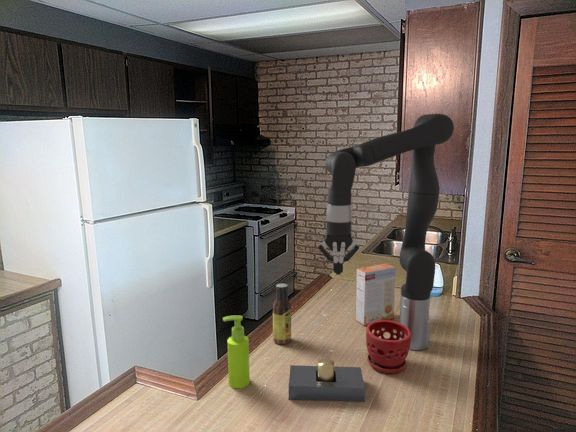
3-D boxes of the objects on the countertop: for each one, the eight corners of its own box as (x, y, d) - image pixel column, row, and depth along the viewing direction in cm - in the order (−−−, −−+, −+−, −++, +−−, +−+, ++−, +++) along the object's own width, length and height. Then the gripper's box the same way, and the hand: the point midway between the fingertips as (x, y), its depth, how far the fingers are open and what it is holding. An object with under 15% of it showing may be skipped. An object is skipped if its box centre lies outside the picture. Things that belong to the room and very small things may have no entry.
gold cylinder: (333, 384, 116) (333, 358, 115) (334, 394, 112) (334, 367, 110) (317, 384, 116) (317, 358, 115) (317, 393, 112) (318, 367, 111)
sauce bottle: (289, 346, 138) (289, 289, 134) (270, 344, 139) (270, 288, 135) (292, 337, 144) (292, 282, 140) (275, 335, 145) (274, 281, 141)
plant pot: (356, 363, 127) (357, 327, 125) (384, 350, 135) (385, 316, 133) (390, 383, 117) (391, 344, 115) (418, 367, 125) (420, 331, 122)
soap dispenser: (225, 377, 120) (223, 312, 116) (249, 375, 121) (248, 311, 117) (224, 389, 114) (222, 321, 111) (249, 387, 115) (247, 320, 111)
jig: (360, 379, 118) (360, 367, 118) (364, 401, 109) (364, 388, 108) (290, 377, 120) (290, 365, 119) (288, 399, 110) (288, 385, 109)
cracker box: (384, 313, 163) (386, 262, 159) (394, 319, 157) (396, 267, 153) (354, 320, 157) (356, 267, 153) (364, 326, 152) (365, 272, 148)
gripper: (359, 216, 127) (358, 270, 131) (316, 216, 128) (316, 269, 131) (362, 221, 120) (360, 278, 123) (317, 221, 121) (316, 277, 124)
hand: (337, 273), depth 127 cm, fingers closed
